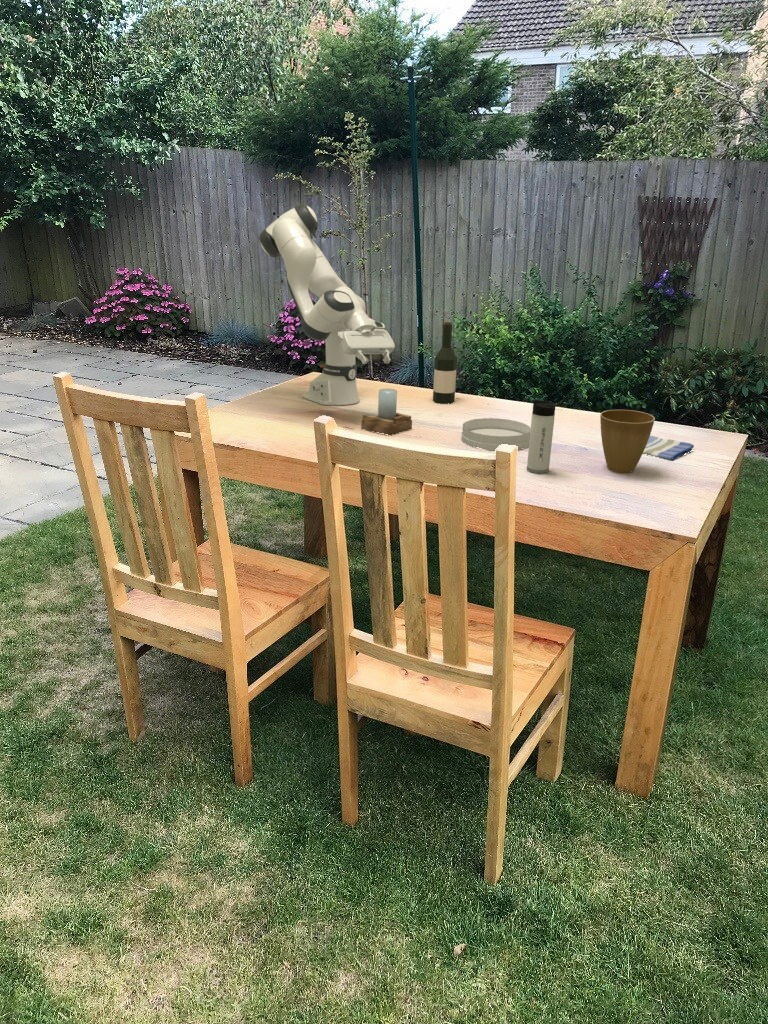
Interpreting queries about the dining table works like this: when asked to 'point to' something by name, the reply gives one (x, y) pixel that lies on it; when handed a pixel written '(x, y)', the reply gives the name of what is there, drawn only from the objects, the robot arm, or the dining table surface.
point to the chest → (387, 424)
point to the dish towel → (666, 448)
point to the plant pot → (624, 438)
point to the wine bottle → (445, 369)
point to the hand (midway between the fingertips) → (377, 362)
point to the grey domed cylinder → (387, 404)
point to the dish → (495, 433)
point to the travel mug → (541, 437)
